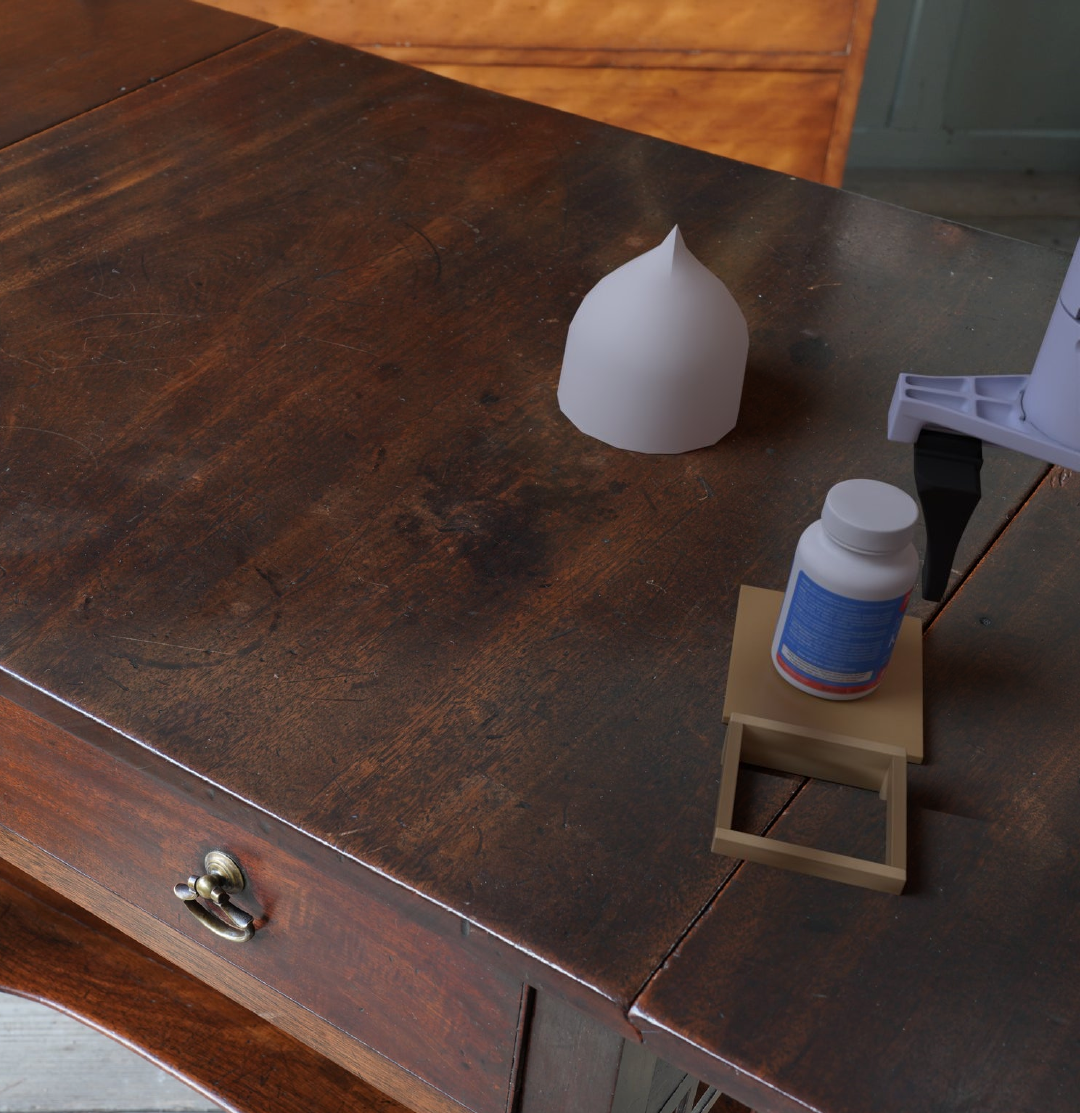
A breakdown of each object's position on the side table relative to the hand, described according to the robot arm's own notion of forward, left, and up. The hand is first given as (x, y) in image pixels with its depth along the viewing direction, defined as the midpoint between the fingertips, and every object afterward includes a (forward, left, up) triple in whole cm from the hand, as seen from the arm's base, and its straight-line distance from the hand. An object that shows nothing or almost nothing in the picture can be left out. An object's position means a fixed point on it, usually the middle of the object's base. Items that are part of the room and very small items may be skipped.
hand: (1029, 604), depth 60 cm
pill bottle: (+6, -5, -10) cm, 13 cm away
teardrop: (+18, -27, -11) cm, 34 cm away
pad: (+6, -5, -10) cm, 13 cm away
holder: (+7, +5, -10) cm, 13 cm away
